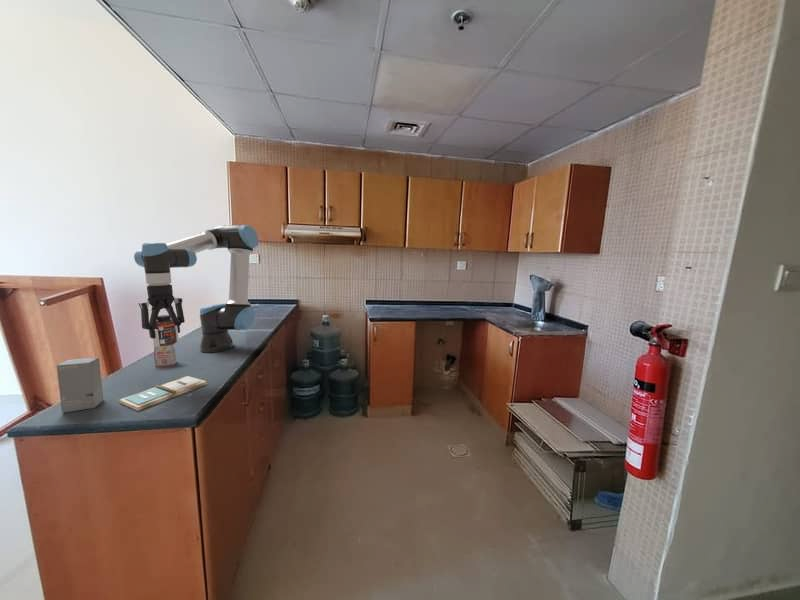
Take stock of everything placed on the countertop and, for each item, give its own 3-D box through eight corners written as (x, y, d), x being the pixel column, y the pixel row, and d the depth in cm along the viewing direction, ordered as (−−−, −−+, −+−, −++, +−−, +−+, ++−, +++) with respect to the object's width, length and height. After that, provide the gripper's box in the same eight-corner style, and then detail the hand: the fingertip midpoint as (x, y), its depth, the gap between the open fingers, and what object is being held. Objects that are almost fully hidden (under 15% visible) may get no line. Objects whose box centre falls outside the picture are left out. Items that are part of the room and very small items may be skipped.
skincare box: (61, 413, 97) (52, 366, 94) (74, 403, 103) (65, 359, 101) (96, 408, 100) (88, 362, 98) (106, 398, 107) (99, 355, 104)
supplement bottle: (165, 347, 115) (162, 317, 113) (153, 346, 116) (149, 317, 115) (180, 342, 121) (176, 314, 119) (167, 341, 122) (164, 314, 120)
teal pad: (155, 388, 112) (155, 387, 111) (169, 393, 108) (169, 392, 107) (125, 399, 104) (124, 397, 104) (138, 405, 100) (138, 403, 100)
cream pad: (187, 377, 121) (187, 376, 121) (201, 381, 117) (201, 380, 117) (161, 386, 113) (161, 385, 113) (175, 391, 109) (175, 389, 109)
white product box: (159, 363, 140) (156, 342, 138) (176, 362, 142) (173, 341, 140) (155, 366, 136) (152, 345, 135) (173, 365, 138) (170, 343, 137)
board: (188, 378, 123) (187, 374, 123) (206, 384, 118) (206, 379, 117) (119, 402, 104) (118, 398, 103) (137, 410, 98) (137, 405, 98)
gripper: (181, 281, 125) (187, 336, 128) (123, 286, 108) (132, 349, 112) (191, 282, 122) (197, 338, 125) (133, 287, 105) (142, 352, 108)
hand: (166, 343), depth 118 cm, fingers closed on supplement bottle, 6 cm apart
